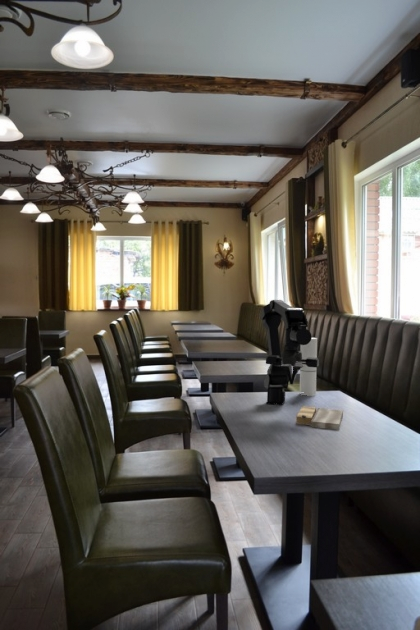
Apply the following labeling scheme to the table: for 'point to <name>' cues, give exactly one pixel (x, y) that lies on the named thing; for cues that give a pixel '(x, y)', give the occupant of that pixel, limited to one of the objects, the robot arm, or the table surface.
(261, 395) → the table surface
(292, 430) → the table surface
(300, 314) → the robot arm
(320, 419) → the floor board
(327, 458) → the table surface
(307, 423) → the plank
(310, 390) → the cylindrical container
